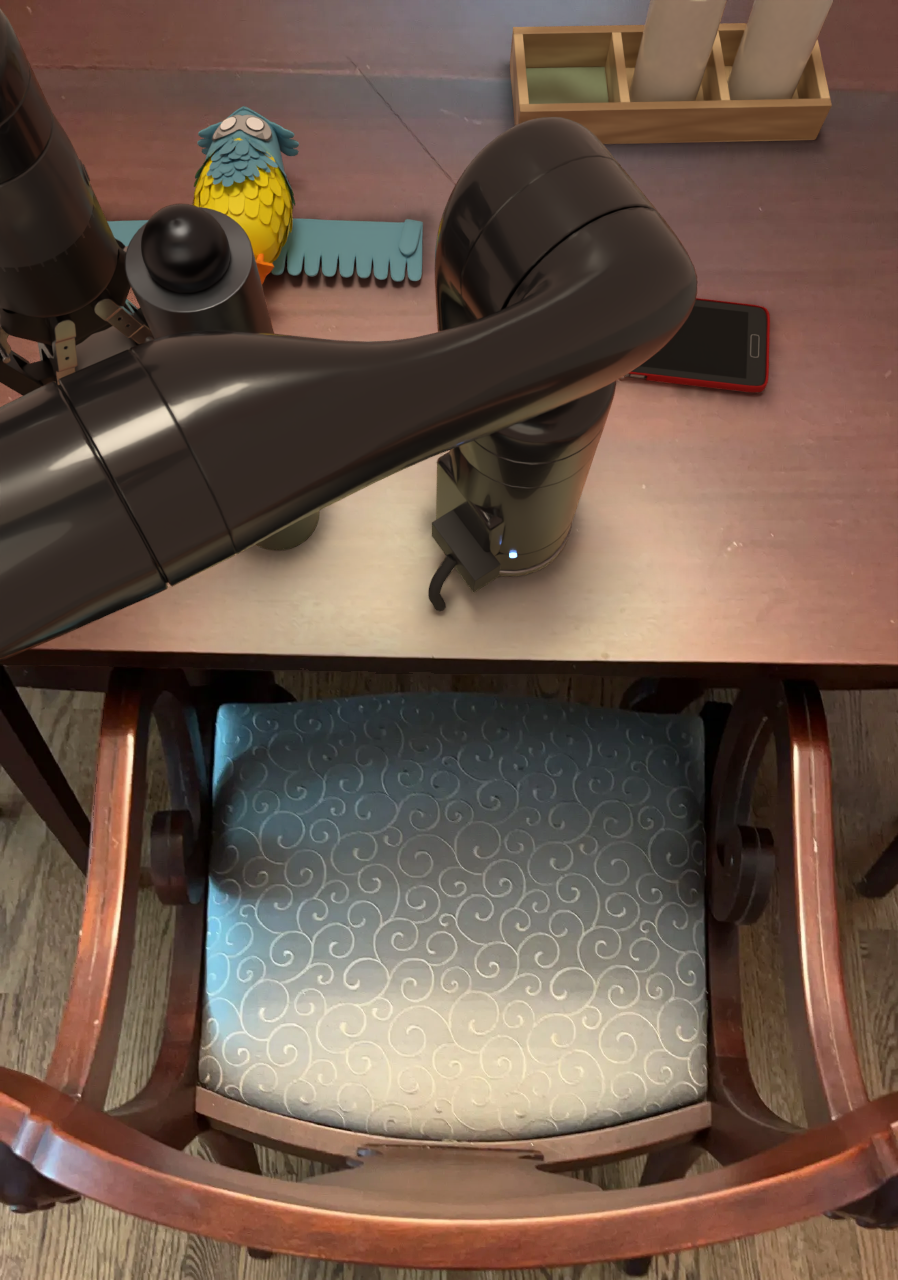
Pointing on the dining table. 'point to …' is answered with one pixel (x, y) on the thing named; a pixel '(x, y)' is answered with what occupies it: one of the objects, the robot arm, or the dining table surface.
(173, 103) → the dining table surface
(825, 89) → the spice rack
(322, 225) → the owl figurine
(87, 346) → the salt shaker
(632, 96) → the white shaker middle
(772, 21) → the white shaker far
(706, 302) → the cell phone
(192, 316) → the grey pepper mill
